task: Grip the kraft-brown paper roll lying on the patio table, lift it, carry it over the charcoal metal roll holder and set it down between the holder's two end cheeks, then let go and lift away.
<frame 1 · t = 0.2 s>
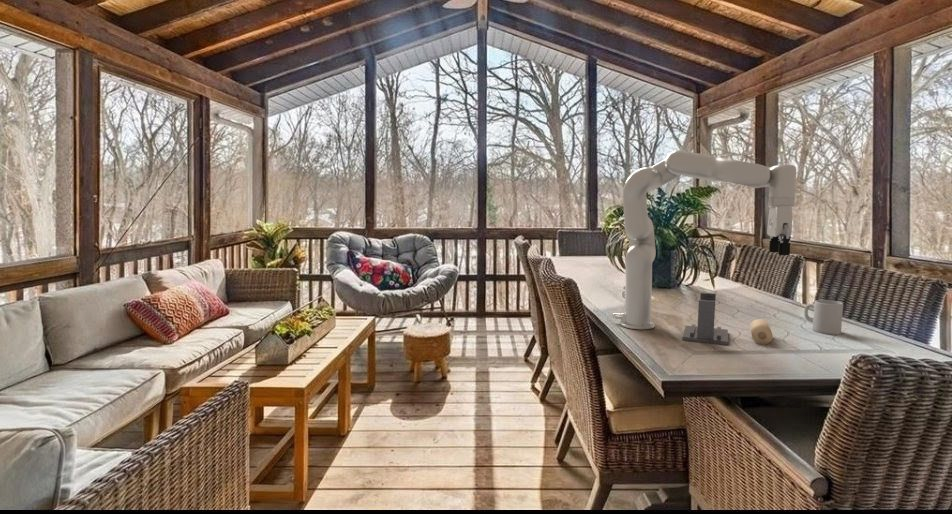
hand: (779, 253, 167), 30 cm above the table, fingers open, 9 cm apart
roll holder: (705, 336, 175), on the table
paper roll: (760, 339, 171), on the table
mug: (821, 331, 182), on the table
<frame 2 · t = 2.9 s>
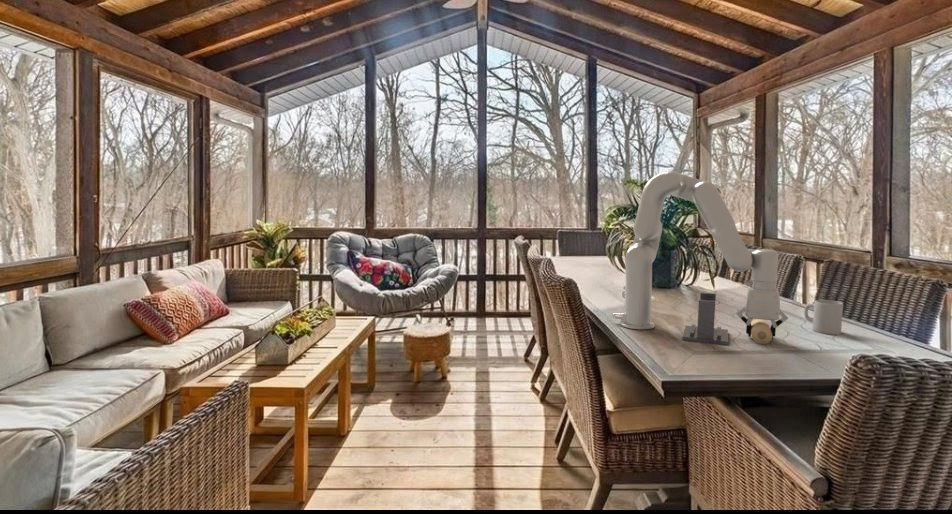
hand: (760, 336, 171), 1 cm above the table, fingers closed on paper roll, 6 cm apart
paper roll: (760, 339, 171), on the table, touching gripper
everything else where it was.
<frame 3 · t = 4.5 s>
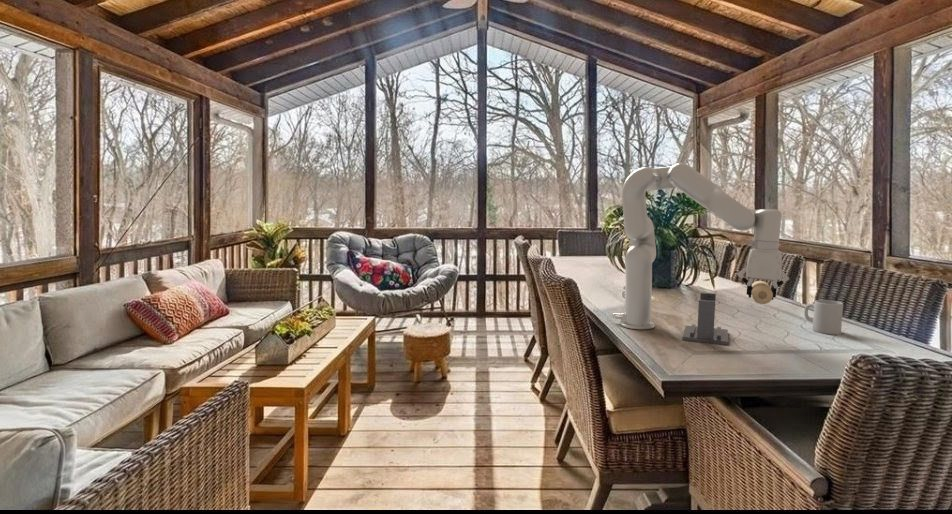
hand: (760, 297, 170), 15 cm above the table, fingers closed on paper roll, 5 cm apart
paper roll: (760, 300, 170), point 14 cm above the table, touching gripper
everything else where it was.
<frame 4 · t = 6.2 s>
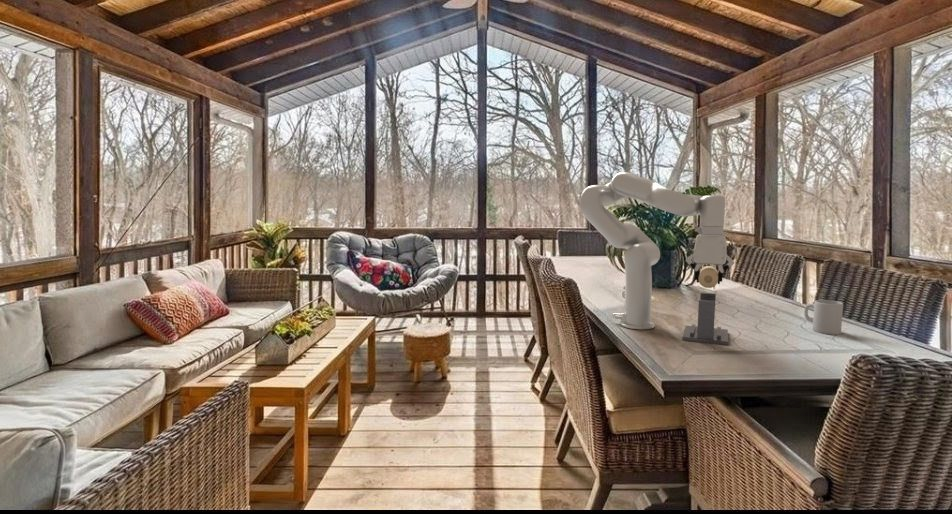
hand: (708, 282, 173), 19 cm above the table, fingers closed on paper roll, 5 cm apart
paper roll: (708, 285, 173), point 18 cm above the table, touching gripper
everything else where it was.
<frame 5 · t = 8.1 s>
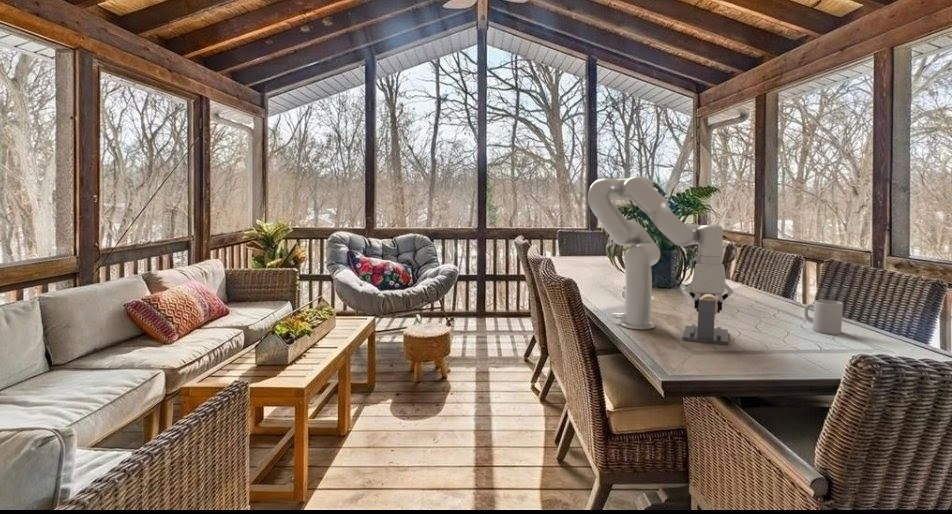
hand: (708, 311, 174), 9 cm above the table, fingers closed on paper roll, 5 cm apart
paper roll: (707, 313, 174), point 8 cm above the table, touching gripper
everything else where it was.
when the fingers open (4 cm above the table, at t = 9.7 s): paper roll drops 1 cm, resting on roll holder.
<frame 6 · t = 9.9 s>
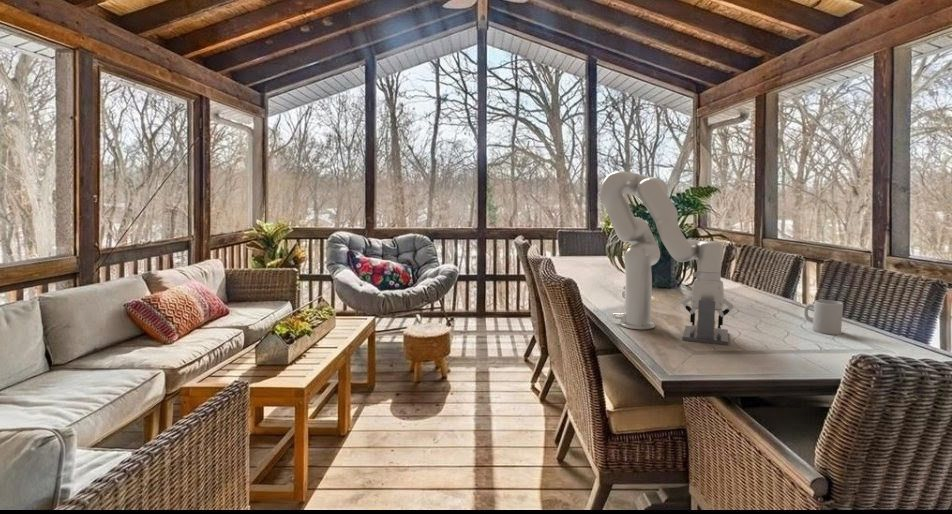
hand: (706, 325, 175), 4 cm above the table, fingers open, 7 cm apart
paper roll: (705, 333, 175), point 1 cm above the table, touching roll holder
everything else where it was.
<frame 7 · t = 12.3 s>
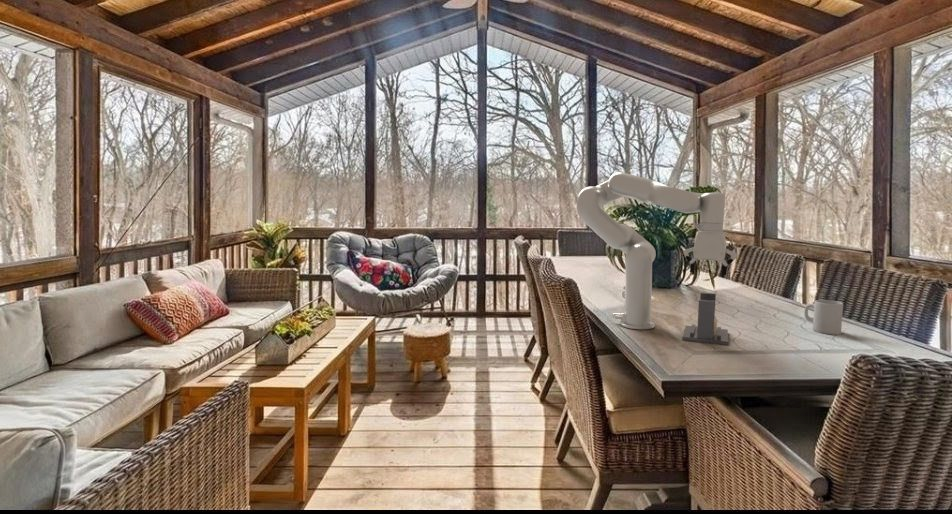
hand: (707, 275, 177), 21 cm above the table, fingers open, 9 cm apart
paper roll: (705, 333, 175), point 1 cm above the table, tilted 7°, touching roll holder
everything else where it was.
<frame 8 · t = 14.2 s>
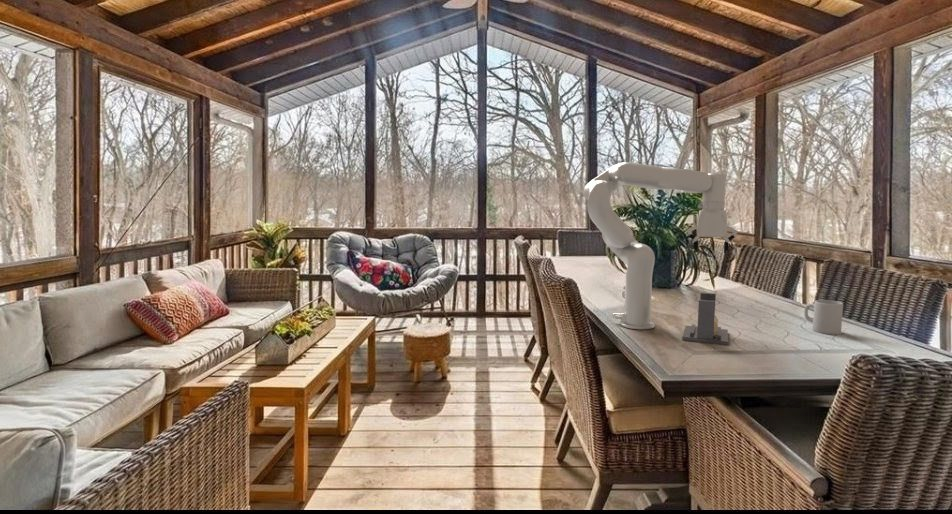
hand: (710, 252, 187), 28 cm above the table, fingers open, 9 cm apart
paper roll: (705, 332, 175), point 1 cm above the table, tilted 14°, touching roll holder
everything else where it was.
at the end: paper roll 0.1 cm off-centre on the roll holder, point 1.3 cm above the roll holder's base; the gripper is holding nothing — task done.
